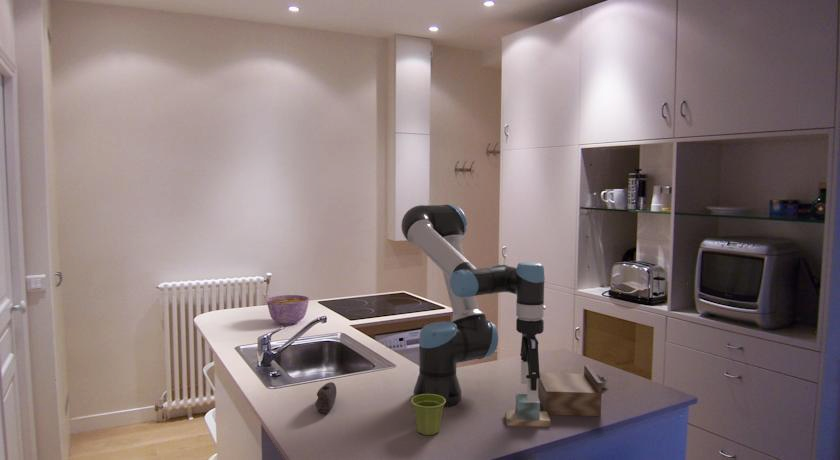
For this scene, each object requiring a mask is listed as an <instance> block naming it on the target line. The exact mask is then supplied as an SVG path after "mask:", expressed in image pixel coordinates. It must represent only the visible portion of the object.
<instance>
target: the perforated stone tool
mask: <svg viewBox="0 0 840 460" xmlns="http://www.w3.org/2000/svg"><path fill="white" fill-rule="evenodd" d="M316 397H317V400H316V401H315V403H314V405H315V407H316V409H317V411H318V413H321V414H328V413H330V411H332V409H333V407H334V405H335V401H336V397H337V387H336V384H335V383H334V382H331V381H330V382H326V383H325V384H324V385H322V386H321V387H320V388H319V389H318V391H317V393H316Z"/></svg>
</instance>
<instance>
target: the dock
mask: <svg viewBox="0 0 840 460" xmlns="http://www.w3.org/2000/svg"><path fill="white" fill-rule="evenodd" d="M583 367H584V368H583V370H584V371H583V373H569V372H568V373H564V372H539V374H540V378H538V399H539V401H540V406H541V407H542V411H543V412H547V413H548V416H550V415H551V416H552V415H553V416H554V415H556V416H580V417H581V416H582V417H583V416H584V417H587V416H588V417H601V416H602V398H603V397H602V394H603V393H602V391H603V388H602V382H601V381H600V380H599V378H598V377H597V376H596V374H597V373H595V372H594V370H593V369H592V368H591V367H590V364H584V366H583Z"/></svg>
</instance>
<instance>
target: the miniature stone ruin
mask: <svg viewBox="0 0 840 460" xmlns="http://www.w3.org/2000/svg"><path fill="white" fill-rule="evenodd" d="M595 374H596V376H597V377H598V378H599V380H600V381H601V382H602V389H606V388H607V387H606V385H607V383H608V380H609V379H608V378H606V379H605V378H604V376H601V375H599V374H597V373H595Z"/></svg>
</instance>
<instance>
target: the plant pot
mask: <svg viewBox="0 0 840 460" xmlns="http://www.w3.org/2000/svg"><path fill="white" fill-rule="evenodd" d="M410 402H411V404H412V407H413V409H414V410H413V411H414V417H415V425H416V431H417V432H418V434H422V435H423V436H433V435H436V434H437V433H440V428H441V421H442V415H443V410H444V408H445V407H444V404H445V403H446V400H445V398H444V397H442V396H439V395H435V394H420V395H417V396H414V395H413V397H411V399H410Z"/></svg>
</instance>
